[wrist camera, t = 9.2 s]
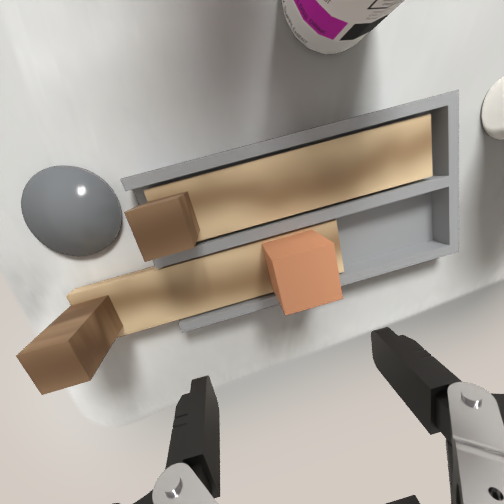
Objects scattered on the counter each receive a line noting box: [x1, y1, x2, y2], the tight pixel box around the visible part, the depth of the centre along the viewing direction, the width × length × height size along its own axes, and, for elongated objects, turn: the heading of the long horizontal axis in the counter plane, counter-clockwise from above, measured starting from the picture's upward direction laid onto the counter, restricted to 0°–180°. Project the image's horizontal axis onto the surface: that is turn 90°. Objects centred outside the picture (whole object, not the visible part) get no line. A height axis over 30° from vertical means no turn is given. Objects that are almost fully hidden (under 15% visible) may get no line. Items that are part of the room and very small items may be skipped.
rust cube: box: [262, 230, 343, 316], centre depth 23 cm, size 5×5×5 cm
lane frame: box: [121, 90, 459, 333], centre depth 26 cm, size 15×30×2 cm, turn 104°
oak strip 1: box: [124, 114, 433, 262], centre depth 22 cm, size 6×26×8 cm, turn 104°
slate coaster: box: [21, 166, 122, 256], centre depth 24 cm, size 8×8×1 cm
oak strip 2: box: [16, 219, 344, 395], centre depth 23 cm, size 6×26×9 cm, turn 104°
